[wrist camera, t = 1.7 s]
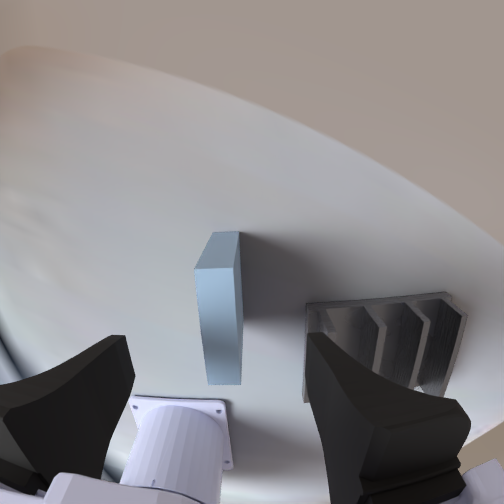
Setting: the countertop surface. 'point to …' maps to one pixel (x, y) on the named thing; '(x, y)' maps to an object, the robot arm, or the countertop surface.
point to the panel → (221, 308)
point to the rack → (395, 336)
